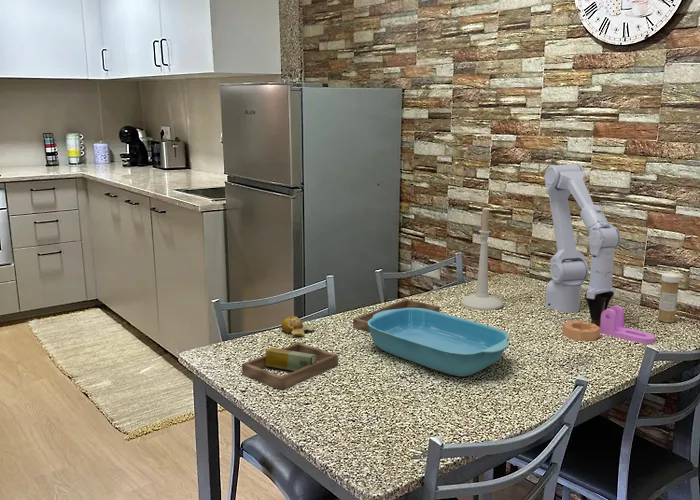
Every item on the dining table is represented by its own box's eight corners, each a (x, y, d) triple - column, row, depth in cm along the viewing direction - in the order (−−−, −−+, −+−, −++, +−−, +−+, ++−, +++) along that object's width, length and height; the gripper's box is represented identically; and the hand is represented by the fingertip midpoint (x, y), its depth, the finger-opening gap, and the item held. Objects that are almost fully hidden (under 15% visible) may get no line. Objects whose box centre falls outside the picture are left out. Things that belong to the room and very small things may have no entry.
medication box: (316, 371, 146) (317, 354, 145) (311, 374, 143) (312, 357, 143) (270, 363, 150) (270, 346, 149) (264, 366, 147) (265, 349, 147)
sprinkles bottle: (662, 317, 183) (666, 271, 180) (678, 321, 179) (683, 274, 177) (654, 320, 180) (658, 273, 178) (670, 324, 177) (675, 276, 174)
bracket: (599, 333, 171) (601, 308, 169) (609, 328, 174) (611, 304, 173) (648, 345, 161) (651, 319, 160) (657, 340, 165) (660, 314, 163)
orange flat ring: (558, 335, 168) (558, 326, 168) (571, 327, 175) (571, 318, 174) (590, 343, 163) (591, 334, 162) (602, 334, 169) (603, 325, 169)
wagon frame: (353, 327, 175) (353, 319, 175) (406, 306, 194) (406, 298, 193) (387, 337, 167) (387, 328, 167) (439, 314, 186) (439, 306, 185)
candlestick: (457, 307, 193) (460, 209, 186) (464, 296, 204) (467, 203, 198) (500, 312, 188) (505, 211, 182) (504, 300, 200) (509, 205, 194)
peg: (589, 323, 178) (590, 299, 176) (593, 320, 180) (595, 297, 178) (600, 326, 175) (603, 301, 174) (605, 323, 178) (607, 299, 176)
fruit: (298, 337, 166) (297, 324, 165) (274, 333, 171) (273, 320, 170) (317, 328, 173) (316, 315, 172) (293, 324, 177) (292, 312, 177)
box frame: (242, 374, 144) (242, 364, 144) (298, 352, 158) (298, 342, 157) (281, 390, 136) (281, 379, 135) (338, 365, 149) (337, 355, 149)
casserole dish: (526, 361, 152) (528, 333, 150) (474, 390, 136) (475, 359, 134) (405, 326, 177) (406, 301, 175) (350, 347, 161) (350, 320, 159)
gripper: (607, 278, 167) (602, 327, 169) (625, 268, 177) (621, 314, 180) (580, 274, 171) (576, 322, 174) (599, 264, 182) (596, 309, 185)
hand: (597, 318), depth 177 cm, fingers closed on peg, 3 cm apart
